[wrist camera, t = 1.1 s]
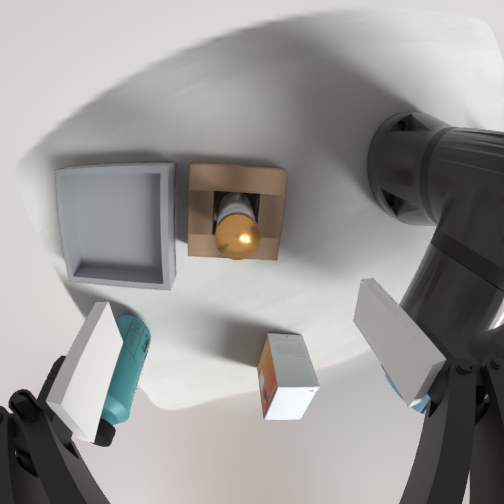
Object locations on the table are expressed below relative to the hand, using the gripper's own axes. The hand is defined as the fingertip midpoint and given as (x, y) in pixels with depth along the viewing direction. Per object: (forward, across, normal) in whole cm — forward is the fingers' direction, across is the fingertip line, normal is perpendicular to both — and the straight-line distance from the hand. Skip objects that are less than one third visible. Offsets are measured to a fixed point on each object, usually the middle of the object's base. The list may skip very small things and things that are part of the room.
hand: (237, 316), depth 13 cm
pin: (+20, -1, 0) cm, 20 cm away
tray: (+21, +13, 0) cm, 24 cm away
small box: (+20, -7, +23) cm, 31 cm away
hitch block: (+20, -1, 0) cm, 20 cm away
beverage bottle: (+21, +15, +16) cm, 30 cm away
